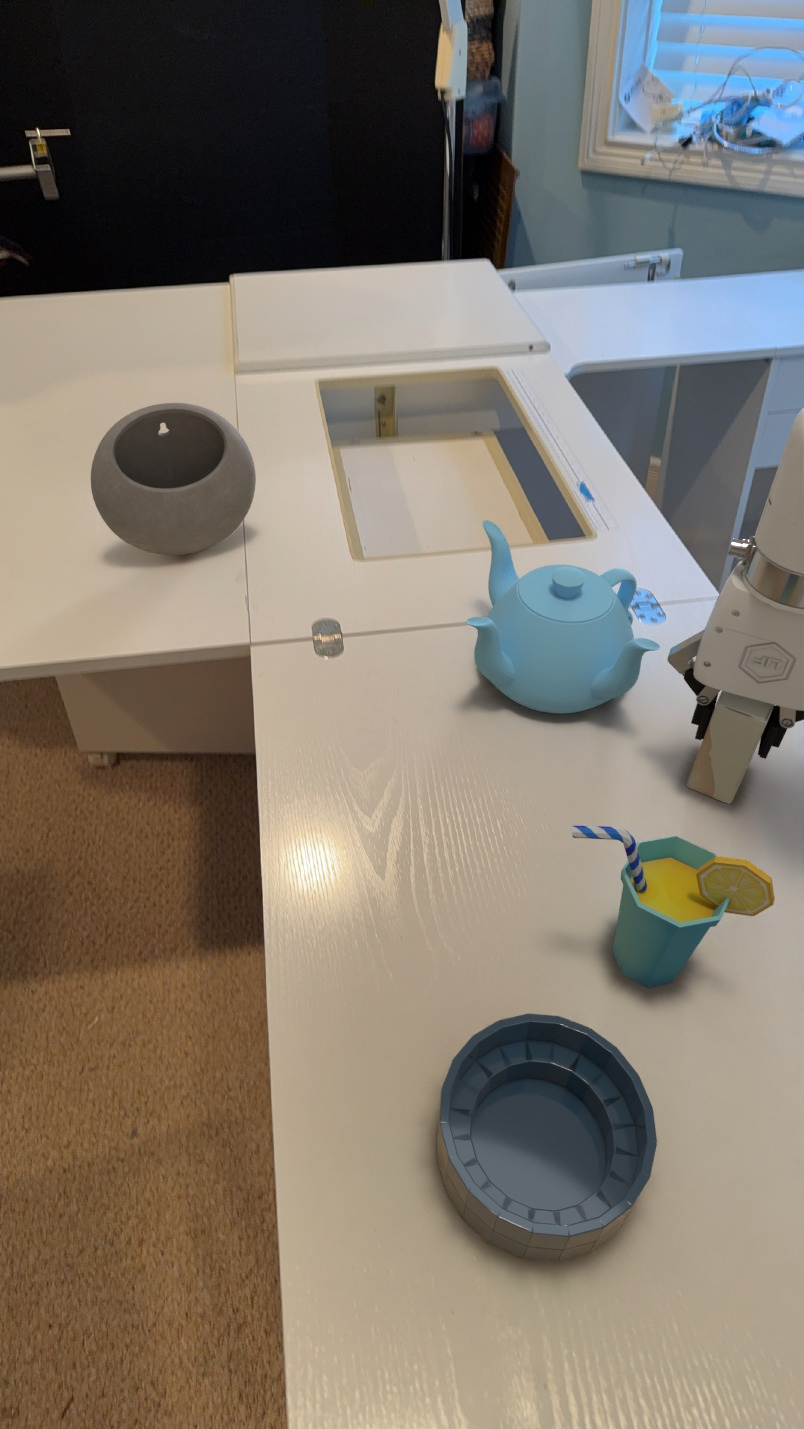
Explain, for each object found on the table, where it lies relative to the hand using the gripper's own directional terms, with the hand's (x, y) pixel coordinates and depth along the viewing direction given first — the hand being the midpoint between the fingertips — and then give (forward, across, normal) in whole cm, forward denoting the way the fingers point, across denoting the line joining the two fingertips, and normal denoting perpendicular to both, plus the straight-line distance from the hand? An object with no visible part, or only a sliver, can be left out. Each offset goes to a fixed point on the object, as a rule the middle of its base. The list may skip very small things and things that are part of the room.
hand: (732, 736), depth 78 cm
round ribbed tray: (+6, -6, -38) cm, 39 cm away
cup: (+6, -3, -21) cm, 22 cm away
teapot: (+6, -19, +8) cm, 21 cm away
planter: (+6, -65, +12) cm, 66 cm away
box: (+6, 0, 0) cm, 6 cm away
